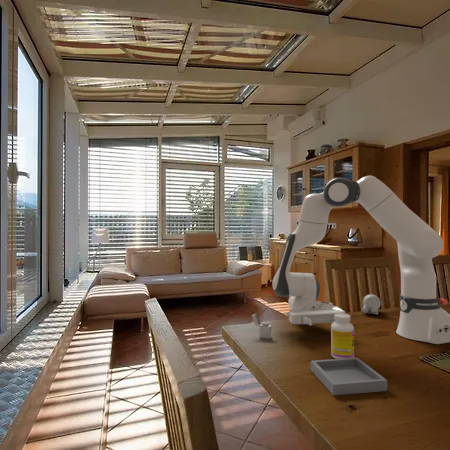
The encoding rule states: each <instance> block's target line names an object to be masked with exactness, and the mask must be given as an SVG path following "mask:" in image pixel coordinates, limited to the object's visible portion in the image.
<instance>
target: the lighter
mask: <svg viewBox="0 0 450 450" xmlns="http://www.w3.org/2000/svg"><path fill="white" fill-rule="evenodd" d="M251 318H252V321H253V323H254V325H255V326H256V327H258V326H259V327H258V331H259V333H258V337H259V338H263V339H267V340H270V339H272V325H269V322H265V321H263V322H262V323H261V320H260V318H259V316H258V313H254V314H251Z"/></svg>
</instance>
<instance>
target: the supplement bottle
mask: <svg viewBox="0 0 450 450" xmlns="http://www.w3.org/2000/svg"><path fill="white" fill-rule="evenodd" d="M334 319H335V322H332V323H331V325H330V329H331V331H330V333H331V334H330V337H331V339H330V341H331V343H330V348H331V351H330V352H331V353H330V355H331V356H332V358H333V359H344V358H355V327H354V325H353V323H351V315H350V314H348V313H346V314H343V313H338V314H335V315H334Z"/></svg>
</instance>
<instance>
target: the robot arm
mask: <svg viewBox="0 0 450 450" xmlns="http://www.w3.org/2000/svg"><path fill="white" fill-rule="evenodd" d="M354 202H355V203H358V204H359V205H361V206H362V207H363V208H364V210H365V211H366V212H367V213H368V214H369V215H370V216H371V217H372V219H374V220H375V221H376V222H377V224H379V226H380V227H381V228H382V229H383V230H384V231H385V232H387V234H389V235H390V236H391V237H392V238H393V239H394V240H395V241H396V243H397V254H398V263H399V269H400V294H399V309H400V313H399V321H398V324H397V329H396V331H395V332H396V334H397V335H399V336H400V337H402V338H405V339H409V340H412V341H419V342H424V343H430V344H434V345H440V344H441V345H442V344H447V343H450V313H448V312H447V311H446V310H445V309H444V308H442V305H443V306H446V305H447V303H448V299H445V298H443V297H441V298H439V297H437V275H436V271H435V268H434V264H433V263H434V262H433V258H436V257H438V256H439V255H441V253H442V252H443V249H444V239H443V238H442V236H441V235H440V234H439V233H438V232H437V231H436V230H434V229H433V228H432V227H431V226H430V225H429V224H428V223H426V221H424V220H423V219H422V218H421V217H420V216H418V215H417V214H416V213H415V212H414V211H412V210H411V209H410V208H409V207H408V206H407V205H406V204H405V203H404V202H403V201H402V199H400V198H399V197H398V196H397V195H396V193H394V191H392V189H391V188H390V187H388V186H387V185H386V184H385V183H384V182H383V181H382V180H381V179H378V178H377V176H375V175H374V176H373V175H365V176H362V177H361V178H360V179H358V180H357V181H355V180H352V179H349V178H345V177H334V178H332V179H330V180H329V181H328V182H326V184H325V186H324V188H323V191H322V192H320V193H315V192H314V193H309V194H308V195H306V196H305V197H304V199H303V202H302V204H301V209H300V211H299V218H298V223H297V226H296V228H295V229H294V230H293V232H290V233H289V234H288V236H287V237H286V241H285V244H284V246H283V250H282V252H281V257H280V259H279V263H278V265H277V269H276V270H275V272H274V276H273V279H272V283H271V284H272V287H271V288H272V290H273V292H274V293H275V294H276V295H277V296H278V297H280V298H288V302H287V303H288V304H287V305H288V307H289V309H290V310H289V311H287V312H285V317H287V318H288V320H289V322H290V323H291V324H292V325H309V326H315V324H329V323H330V324H332V323H333V322H335V319H334V315H335V314H338V313H343V314H347V313H346V311H345V310H343V309H342V308H340V307H338V306H336V305H333V303H332V302H327V301H320V300H319V301H318V299H319V296H320V293H321V291H320V290H321V286H320V282H319V280H318V278H317V276H316V275H315V274H314V273H309V272H292V271H290V270H291V267H292V264H293V261H294V257H295V255H296V253H297V252H298V251H299V250H301V249H303V248H306V247H310V246H313V245H315V244H318V243H319V242H321V241H322V240H323V239H324V238H325V236H326V233H327V229H328V222H329V216H330V212H331V211H332V209H334V208H335V207H336V208H343V207H345V206H347V205H350V204H352V203H354ZM441 304H442V305H441Z"/></svg>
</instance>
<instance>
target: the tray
mask: <svg viewBox="0 0 450 450" xmlns="http://www.w3.org/2000/svg"><path fill="white" fill-rule="evenodd" d="M310 371H311V372H312V374H314V375H315V377H316V378H317V379H318V380H319V382H321V383H322V384H323V386H324V387H325V388H326V389H327V391H329V393H330V394H331V395H332V396H343V395H354V394H365V393H368V394H369V393H378V392H379V393H380V392H387V391H388V379H386V378H385V377H384V376H383V375H381V374H380V373H378V372H377V371H376V370H374V368H372V367H371V366H370V365H368V364H367V363H366V362H364V361H363V360H361V359H360V358H359V357H354V358H344V359H335V358H333V359H332V358H331V359H319V360H318V359H317V360H310Z"/></svg>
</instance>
